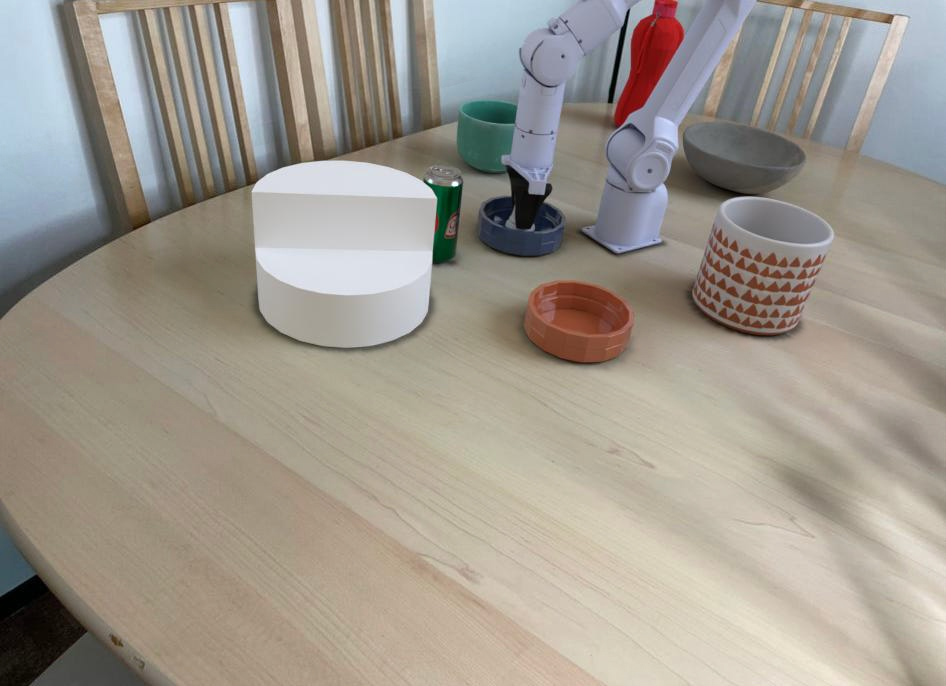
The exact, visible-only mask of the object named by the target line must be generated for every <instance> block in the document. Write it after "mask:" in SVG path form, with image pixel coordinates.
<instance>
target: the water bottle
mask: <svg viewBox="0 0 946 686" xmlns="http://www.w3.org/2000/svg"><path fill="white" fill-rule="evenodd" d="M678 4H679V1H676V0H654V2H653V8H652V12H651V14H649V15H648V16H646V17H643V18H641V19H640V20H639V22H638V23H637V24H636V25H635V27H634V29H633V31H632V34H631V39H630V70H629V75H628V78H627V80H626V83H625V84H624V87H623V90H622V92H621V93H620V96H619V97H618V100H617V104H616V107H615V111H614V115H613V122H614V124H615V126H616V127H617V128H620V127H621V126H622V125H623V124H624V122H625V121H626V119H627V118H628V116H629V115H630V114H631V113H633V112H635V111H637V110H639V109H641V108H643V107H644V105H645V103H646V102H647V100H648V98H649V97H650V95H651V93H652V92H653V90H654V88H655V87H656V85H657V83H658V82H659V80H660V78H661V76H662V75H663V73H664V71H665V70H666V68H667V66H668V65H669V63H670V61H671V60H672V58H673V56H674V55H675V53H676V51H677V49H678V48H679V46H680V44H681V43H682V41H683V39H684V38H685V29H684V27H683V25H682V24H681V22H680V21H679V20H678V19H677V18H676V12H677V8H678Z"/></svg>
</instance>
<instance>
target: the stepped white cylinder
mask: <svg viewBox="0 0 946 686" xmlns="http://www.w3.org/2000/svg"><path fill="white" fill-rule="evenodd" d="M251 205H252V208H251V209H252V221H253V222H252V223H253V237H254V239H253V240H254V253H255V267H256V284H257V298H258V299H257V300H258V309H259V312H260V313H261V314H262V317H263V318H264V319H265V321H266V322H267V323H268V325H270V326H272V327H273V328H275V329H276V330H277V331H278V332H280V333H281V334H283V335H286V336H288V337H290V338H292V339H295V340H297V341H299V342H304V343H307V344H312V345H316V346H319V347H320V346H321V347H328V348H329V347H330V348H343V349H349V348H350V349H351V348H362V347H364V348H365V347H373V346H376V345H382V344H386V343H388V342H393V341H395V340H397V339H399V338H402V337H403V336H406V335H409V334H410V333H411V332H412V331H414V330H415V329H416V328H417V327H418V326H420V325H421V324H422V323H423V321H424V320H425V317H426V316H427V314H428V312H429V303H430V292H431V281H432V272H433V271H432V270H433V269H432V268H433V262H432V256H433V242H434V231H435V219H436V208H437V197H436V196H435V194H434V192H433V190H432V189H431V188H430V187H429V186H427V185H426V184H425V183H424V182H423V180H422V179H419V178H417V177H415V176H413V175H411V174H409V173H408V172H406V171H402V170H399V169H396V168H392V167H389V166H386V165H381V164H375V163H371V162H365V161H364V162H363V161H353V160H316V161H308V162H300V163H296V164H292V165H288V166H284V167H281V168H278V169H276V170H273V171H271V172H269V173H267V174H265V175H264V176H263V177H262V178H260V179H259V180H258V181H256V182H255V184H254V186H253V188H252V190H251Z"/></svg>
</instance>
